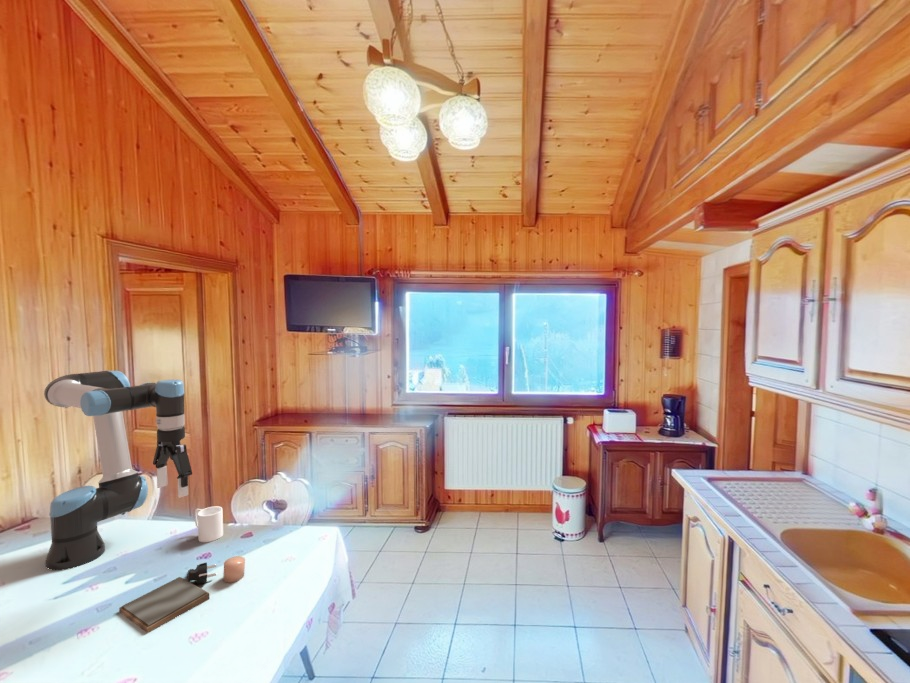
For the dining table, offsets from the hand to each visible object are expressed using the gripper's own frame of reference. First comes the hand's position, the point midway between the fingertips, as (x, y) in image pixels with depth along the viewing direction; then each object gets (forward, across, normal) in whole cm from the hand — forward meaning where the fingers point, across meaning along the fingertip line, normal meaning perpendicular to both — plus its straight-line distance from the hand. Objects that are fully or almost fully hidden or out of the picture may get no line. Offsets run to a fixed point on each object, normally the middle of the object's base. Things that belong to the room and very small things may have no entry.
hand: (172, 491), depth 134 cm
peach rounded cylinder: (+26, +20, +8) cm, 34 cm away
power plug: (+27, +6, +5) cm, 28 cm away
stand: (+27, +17, -10) cm, 33 cm away
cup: (+28, -14, +18) cm, 36 cm away
